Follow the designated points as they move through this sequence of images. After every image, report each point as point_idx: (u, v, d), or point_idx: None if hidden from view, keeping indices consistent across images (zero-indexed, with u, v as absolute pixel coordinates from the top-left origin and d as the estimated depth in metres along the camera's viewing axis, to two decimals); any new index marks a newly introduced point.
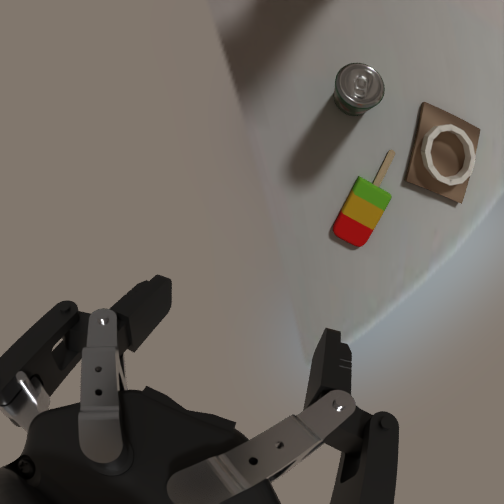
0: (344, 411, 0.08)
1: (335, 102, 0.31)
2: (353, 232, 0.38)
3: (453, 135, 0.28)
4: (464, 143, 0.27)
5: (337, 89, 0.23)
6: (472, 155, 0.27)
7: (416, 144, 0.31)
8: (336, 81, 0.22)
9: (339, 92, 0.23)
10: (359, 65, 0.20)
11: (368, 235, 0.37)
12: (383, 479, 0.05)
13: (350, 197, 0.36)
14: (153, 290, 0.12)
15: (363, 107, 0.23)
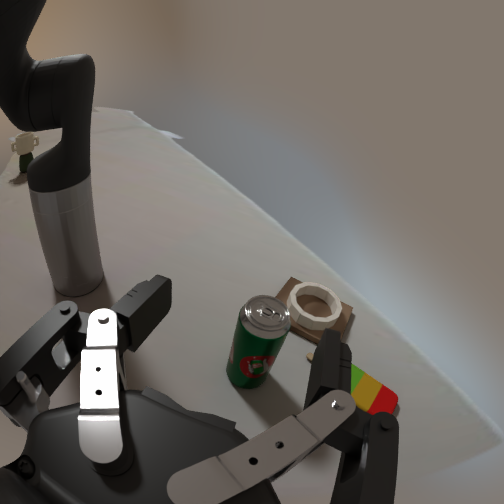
0: (344, 411, 0.08)
1: (248, 385, 0.29)
2: (385, 402, 0.29)
3: (296, 299, 0.43)
4: (304, 290, 0.44)
5: (265, 338, 0.24)
6: (316, 285, 0.44)
7: (303, 331, 0.38)
8: (256, 335, 0.24)
9: (269, 337, 0.24)
10: (247, 305, 0.26)
11: (387, 388, 0.31)
12: (383, 479, 0.05)
13: None
14: (153, 290, 0.12)
15: (289, 324, 0.26)
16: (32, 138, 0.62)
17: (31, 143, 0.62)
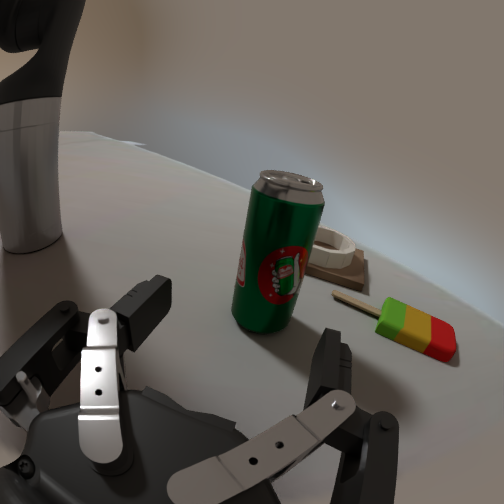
0: (344, 411, 0.08)
1: (271, 324, 0.21)
2: (443, 332, 0.22)
3: None
4: None
5: (298, 203, 0.16)
6: None
7: (318, 269, 0.31)
8: (284, 199, 0.16)
9: (304, 201, 0.16)
10: (262, 173, 0.18)
11: (438, 319, 0.24)
12: (383, 479, 0.05)
13: (408, 333, 0.22)
14: (153, 290, 0.12)
15: (322, 197, 0.18)
16: None
17: None
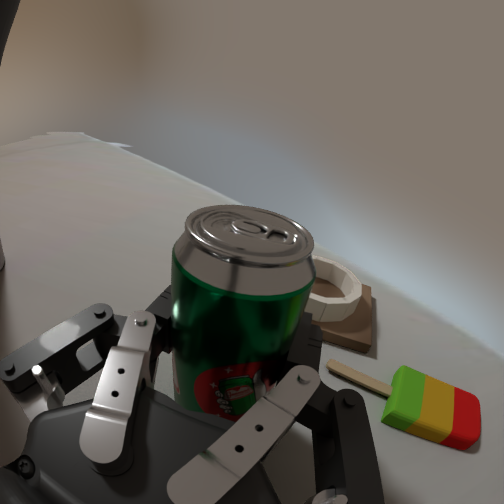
0: (308, 385, 0.09)
1: None
2: (468, 411, 0.13)
3: None
4: None
5: (254, 294, 0.08)
6: (313, 257, 0.29)
7: None
8: (223, 287, 0.07)
9: (268, 289, 0.08)
10: (193, 217, 0.09)
11: (462, 390, 0.15)
12: (362, 455, 0.06)
13: (425, 424, 0.13)
14: None
15: (313, 261, 0.10)
16: None
17: None
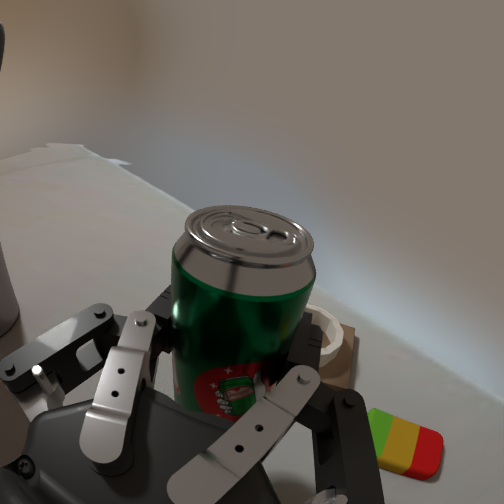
0: (308, 385, 0.09)
1: None
2: (429, 448, 0.16)
3: None
4: None
5: (254, 295, 0.08)
6: None
7: None
8: (223, 287, 0.07)
9: (268, 290, 0.08)
10: (193, 218, 0.09)
11: (427, 429, 0.18)
12: (362, 455, 0.06)
13: (385, 461, 0.16)
14: None
15: (313, 262, 0.10)
16: None
17: None
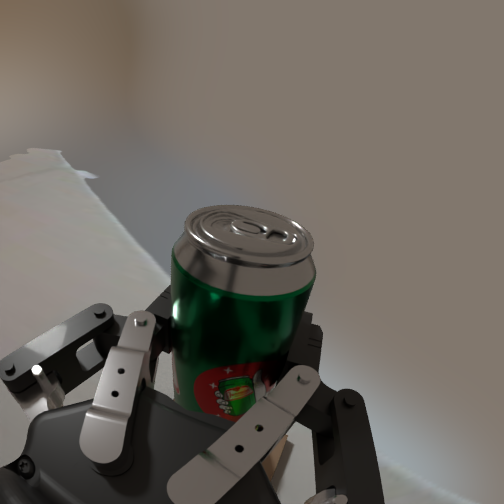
0: (308, 385, 0.09)
1: None
2: None
3: None
4: None
5: (254, 294, 0.07)
6: None
7: None
8: (223, 287, 0.07)
9: (268, 290, 0.08)
10: (193, 217, 0.09)
11: None
12: (362, 455, 0.06)
13: None
14: None
15: (313, 262, 0.10)
16: None
17: None
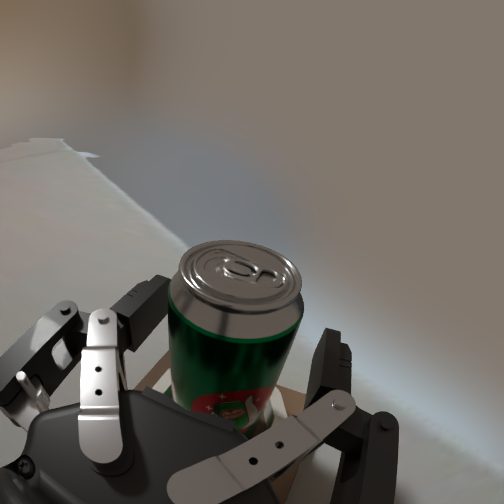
0: (344, 411, 0.08)
1: None
2: None
3: None
4: None
5: (243, 338, 0.08)
6: None
7: None
8: (215, 331, 0.08)
9: (256, 333, 0.08)
10: (187, 258, 0.10)
11: None
12: (383, 479, 0.05)
13: None
14: (153, 290, 0.12)
15: (301, 298, 0.10)
16: None
17: None
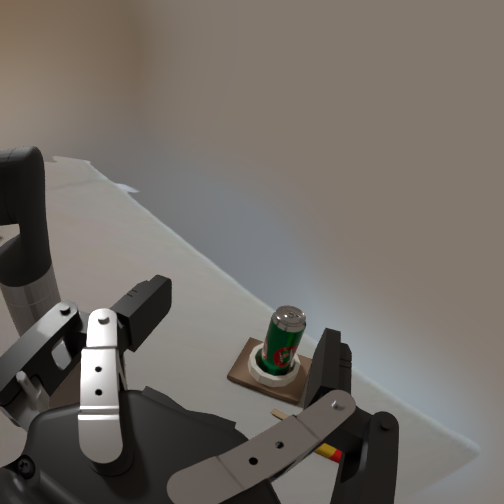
0: (344, 411, 0.08)
1: (278, 374, 0.40)
2: None
3: (257, 359, 0.45)
4: None
5: (293, 332, 0.36)
6: None
7: (266, 389, 0.39)
8: (286, 330, 0.36)
9: (295, 330, 0.36)
10: (276, 313, 0.38)
11: None
12: (383, 479, 0.05)
13: None
14: (153, 290, 0.12)
15: (305, 322, 0.38)
16: None
17: None
